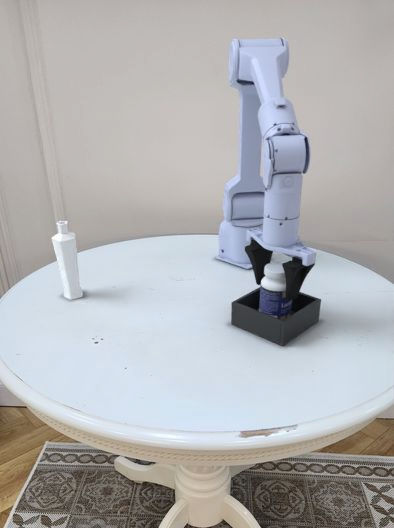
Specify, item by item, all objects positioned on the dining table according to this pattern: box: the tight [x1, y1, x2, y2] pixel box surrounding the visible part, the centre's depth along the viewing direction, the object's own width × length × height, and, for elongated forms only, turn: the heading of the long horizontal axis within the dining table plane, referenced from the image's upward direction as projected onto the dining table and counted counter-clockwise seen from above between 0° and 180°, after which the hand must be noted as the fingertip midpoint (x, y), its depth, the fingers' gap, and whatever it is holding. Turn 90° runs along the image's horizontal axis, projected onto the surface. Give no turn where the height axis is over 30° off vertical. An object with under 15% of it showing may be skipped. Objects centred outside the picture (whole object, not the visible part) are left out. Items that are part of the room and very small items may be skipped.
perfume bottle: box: [51, 220, 84, 301], centre depth 103 cm, size 5×4×15 cm
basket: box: [230, 286, 322, 347], centre depth 94 cm, size 11×11×4 cm
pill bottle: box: [259, 262, 292, 321], centre depth 93 cm, size 6×6×10 cm
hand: (276, 290), depth 93 cm, fingers open, 7 cm apart
